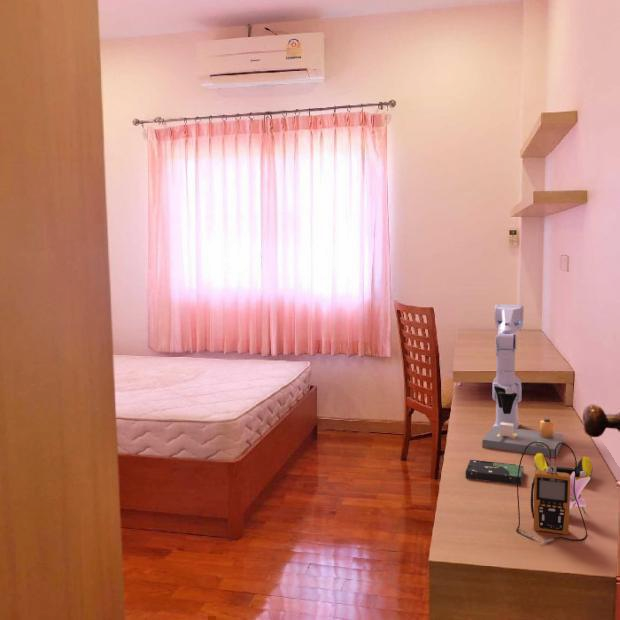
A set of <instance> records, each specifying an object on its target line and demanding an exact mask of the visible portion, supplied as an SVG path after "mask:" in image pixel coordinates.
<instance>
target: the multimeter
mask: <svg viewBox="0 0 620 620" xmlns="http://www.w3.org/2000/svg"><path fill="white" fill-rule="evenodd" d="M532 443H542V442H532ZM532 443H530V444H529V445H531V444H532ZM542 444H544V443H542ZM559 444H562V445H563V446H566V447H567V448H568V449H569V451H571V453H572V454H573V458H574V462H575V465H574V466H575V477H574V488H573V490H574V496H575V499H576V495H575V478H576V468H577V465H578V463H577V457H576V455H575V452H574V451H573V449H572V448H571V447H570V446H569V445H567V444H566V443H564V442H563V443H559ZM559 444H557V446H558V445H559ZM529 445H528V446H529ZM544 445H545V446H547V445H546V444H544ZM528 446H527V447H526V448H525V450H524V452H523V453H522V455H521V457H520V460H519V469H518V476H517V484H516V491H517V492H516V493H517V512H518V515H517V516H518V526H517V528H516V531H515V532H517V533H520V534H521V535H522V536H525V537H527V538H529V539H533V540H536V541H539V542H540V540H539V539H538V538H536V537H533V536H532V535H530V534H527V533H525V532H522V531H519V528H520V526H521V520H520V517H521V515H520V499H519V485H518V478H519V470H520V465H521V464H522V461H523V458H524V455H525V454H526V453H525V451H526V449H527V448H528ZM557 446H556V448H555V457H554V461H553V466H552V460H551V459H552V457H551V451H550V449H549V447H548V446H547V448H548V449H549V451H550V457H549V456H548V457H549V460H548V464H549V466H548V471H541V470H537V469H536V470H534V477H533V480H532V482H531V490H530V511H531V517H532V519H533V529H534V531H536V532H540V531H541V532H548V533H555V534H560V535H565V536H566V535H568V534H569V533H570V532H569V528H570V525H569V524H570V511H569V509H570V475H569V474H568V473H560V472H556V467H557V460H556V459H557V456H556V449H557ZM521 466H522V465H521ZM551 467H553V472H551ZM576 502H577V505H578V507H577V508H578V510H579V515H580V516H581V519H582V523H583V527H584V530H585V535H584V537H582V538H581V539H575V538H574V539H571V538H566V537H563V536H557V537H553V538H549V539H547V540H544V541H543V542H540V543H538V545H543V544H547V543H550V542H553V541H555V540H557V539H564V540H566V541H567V540H568V541H577V542H578V541H579V542H580V541H583V540H585V539H586V538H587V536H588V530H587V527H586V523H585V520H584V517H583V514H582V511H581V507H579V504H578V501H577V499H576ZM570 510H571V509H570Z"/></svg>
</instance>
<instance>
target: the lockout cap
mask: <svg viewBox="0 0 620 620" xmlns="http://www.w3.org/2000/svg"><path fill="white" fill-rule="evenodd" d="M539 431H540V437H543V438H553V433H554V421H553V420H552V419H550V418H543V419H540V422H539Z"/></svg>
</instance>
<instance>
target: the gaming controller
mask: <svg viewBox="0 0 620 620" xmlns="http://www.w3.org/2000/svg"><path fill="white" fill-rule="evenodd" d="M533 465H534V468H535V469H536V470H541V471H548V466H549V461H547V459H546V456H544V455H543V454H542V453H537V454H536V455H534V458H533ZM553 467H554V466H551V472H553ZM556 472H560V473H568V474H569V475H571V474H572V473H573V472H575V468H573V467H564V466H556ZM592 473H593V463H592V461H591V459H590V457H588V456H582V457H581V458H580V460H579V462H578V463H577V468H576V481H577V480H578V479H581V478H585V477H590V478H591V476H592Z"/></svg>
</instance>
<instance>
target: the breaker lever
mask: <svg viewBox="0 0 620 620" xmlns="http://www.w3.org/2000/svg"><path fill="white" fill-rule="evenodd" d="M499 435H502V436H509V437H512V436H513V435H514V424H513V423H505V422H501V423H500V424H499Z"/></svg>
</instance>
